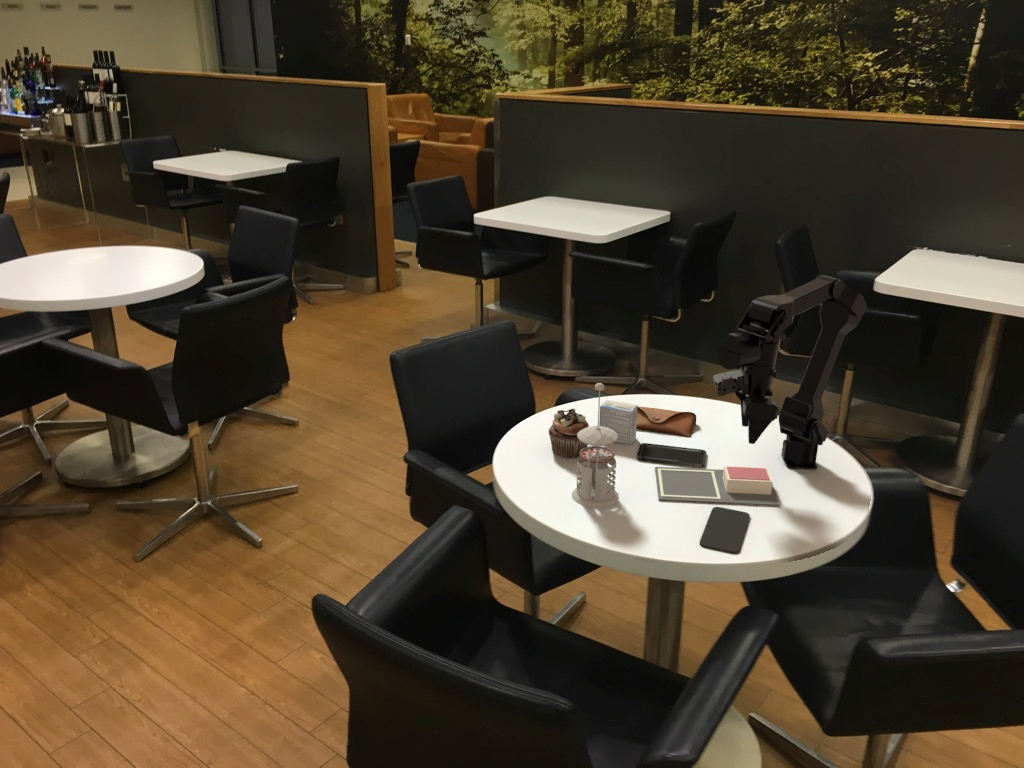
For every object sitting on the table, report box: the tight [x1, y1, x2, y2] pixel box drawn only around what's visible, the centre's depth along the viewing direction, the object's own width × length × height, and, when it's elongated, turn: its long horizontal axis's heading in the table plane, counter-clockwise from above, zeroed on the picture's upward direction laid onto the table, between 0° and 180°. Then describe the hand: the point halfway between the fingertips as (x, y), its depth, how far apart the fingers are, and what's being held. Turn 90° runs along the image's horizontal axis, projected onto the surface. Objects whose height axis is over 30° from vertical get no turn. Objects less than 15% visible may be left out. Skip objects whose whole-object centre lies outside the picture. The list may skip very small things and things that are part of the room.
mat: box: [654, 466, 781, 507], centre depth 177 cm, size 24×14×1 cm, turn 84°
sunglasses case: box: [636, 405, 697, 438], centre depth 205 cm, size 18×7×7 cm, turn 74°
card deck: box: [722, 465, 774, 495], centre depth 176 cm, size 9×6×3 cm, turn 84°
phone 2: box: [636, 442, 707, 469], centre depth 190 cm, size 8×1×15 cm
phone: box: [699, 506, 751, 555], centre depth 162 cm, size 7×1×15 cm
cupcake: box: [548, 408, 590, 459], centre depth 191 cm, size 10×10×10 cm
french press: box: [571, 382, 620, 509], centre depth 169 cm, size 10×12×25 cm
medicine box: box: [599, 399, 638, 446], centre depth 197 cm, size 8×4×9 cm, turn 65°
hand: (747, 434), depth 173 cm, fingers open, 9 cm apart
